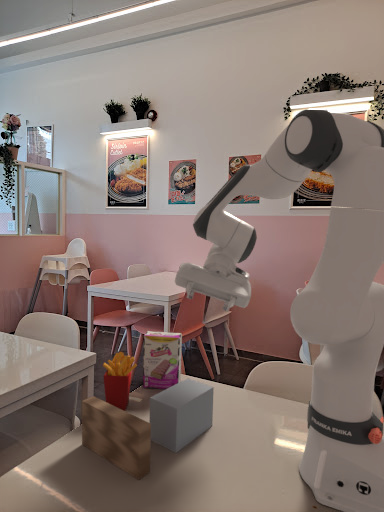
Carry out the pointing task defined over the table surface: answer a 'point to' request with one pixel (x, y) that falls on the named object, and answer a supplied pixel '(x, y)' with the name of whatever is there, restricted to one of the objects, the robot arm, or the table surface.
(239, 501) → the table surface
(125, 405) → the french fries
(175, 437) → the slate block
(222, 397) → the table surface
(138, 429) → the walnut board
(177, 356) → the candy bar box
